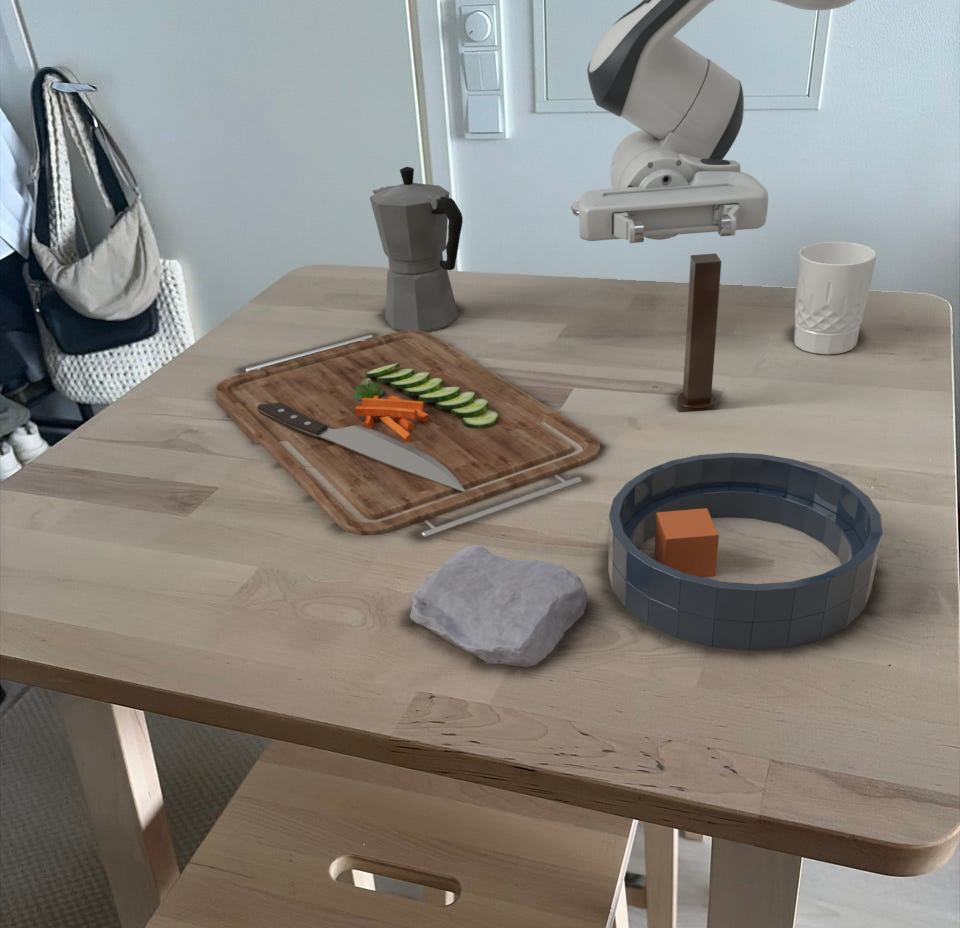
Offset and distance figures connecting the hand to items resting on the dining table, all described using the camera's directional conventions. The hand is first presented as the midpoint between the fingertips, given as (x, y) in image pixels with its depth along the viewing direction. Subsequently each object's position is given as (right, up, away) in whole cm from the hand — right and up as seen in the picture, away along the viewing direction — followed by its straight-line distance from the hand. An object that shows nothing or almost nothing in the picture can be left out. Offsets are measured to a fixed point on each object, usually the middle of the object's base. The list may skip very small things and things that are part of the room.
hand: (682, 231), depth 106 cm
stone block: (-20, -41, -28) cm, 54 cm away
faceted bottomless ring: (-1, -37, -26) cm, 45 cm away
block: (-5, -36, -25) cm, 44 cm away
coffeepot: (-27, -2, +23) cm, 36 cm away
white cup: (+18, -9, +10) cm, 22 cm away
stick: (+1, -18, -1) cm, 18 cm away
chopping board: (-30, -20, 0) cm, 36 cm away
